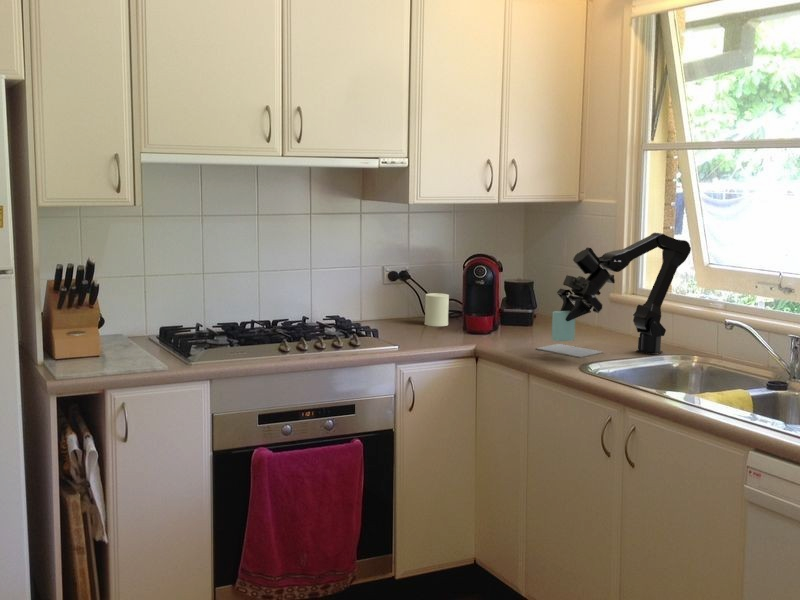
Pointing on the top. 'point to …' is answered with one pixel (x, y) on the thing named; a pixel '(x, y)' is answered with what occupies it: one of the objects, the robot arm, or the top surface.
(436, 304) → the can
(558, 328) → the mint green pillar
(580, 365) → the top surface
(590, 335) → the top surface
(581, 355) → the placemat
